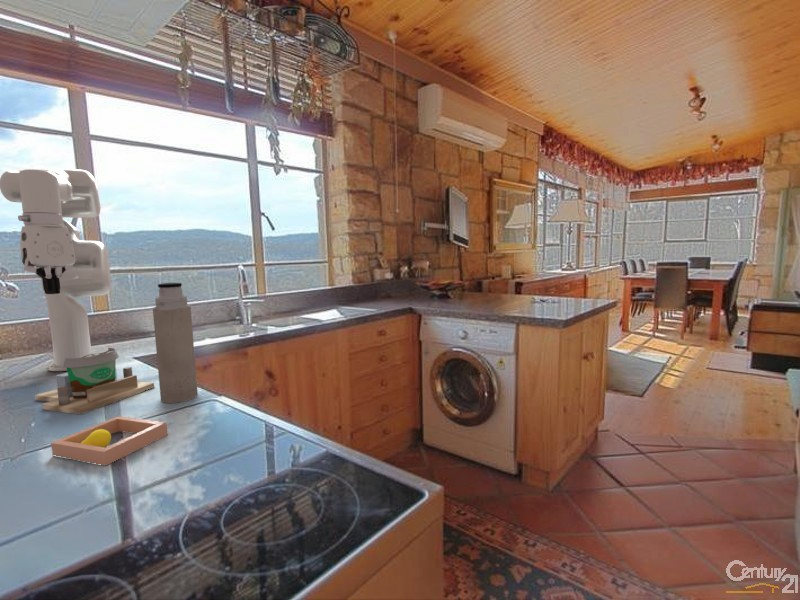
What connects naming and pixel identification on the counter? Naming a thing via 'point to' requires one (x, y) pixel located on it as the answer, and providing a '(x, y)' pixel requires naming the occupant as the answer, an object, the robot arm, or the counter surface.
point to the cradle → (94, 395)
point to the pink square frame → (100, 455)
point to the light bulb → (98, 438)
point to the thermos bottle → (174, 344)
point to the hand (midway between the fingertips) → (52, 293)
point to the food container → (90, 371)
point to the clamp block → (64, 381)
